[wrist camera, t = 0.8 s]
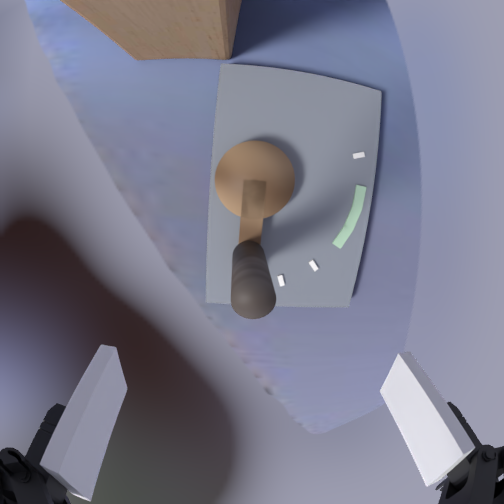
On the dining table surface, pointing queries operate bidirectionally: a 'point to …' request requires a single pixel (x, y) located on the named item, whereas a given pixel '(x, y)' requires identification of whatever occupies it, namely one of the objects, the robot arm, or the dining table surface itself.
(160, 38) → the wooden block
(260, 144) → the dial
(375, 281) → the dining table surface
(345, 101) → the board
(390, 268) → the dining table surface
